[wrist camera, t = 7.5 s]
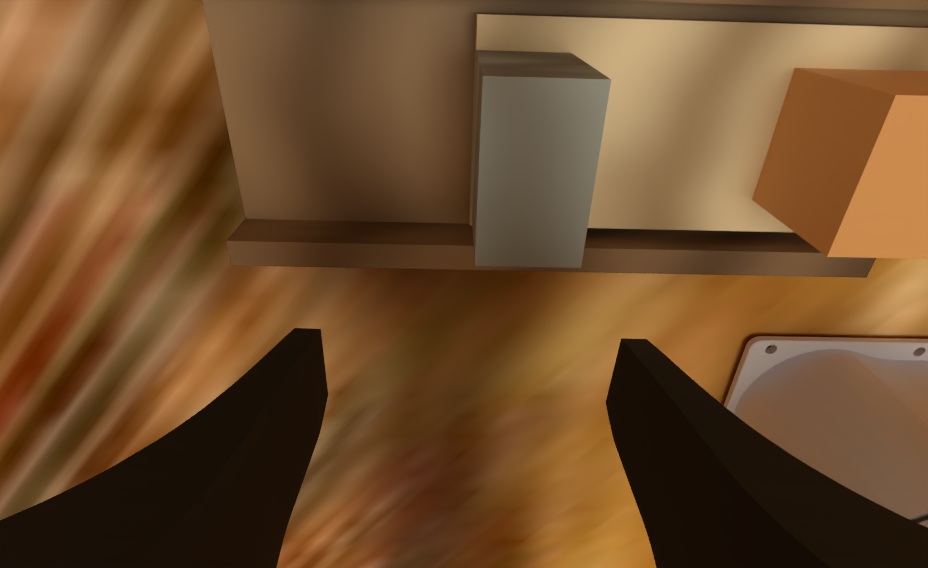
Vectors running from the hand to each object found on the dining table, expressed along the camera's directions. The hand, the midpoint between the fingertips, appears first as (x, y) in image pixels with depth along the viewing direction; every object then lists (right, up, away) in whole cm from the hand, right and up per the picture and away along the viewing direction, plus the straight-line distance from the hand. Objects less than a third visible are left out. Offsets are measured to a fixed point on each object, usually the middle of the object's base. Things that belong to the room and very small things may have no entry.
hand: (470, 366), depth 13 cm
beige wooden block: (+8, +8, +7) cm, 13 cm away
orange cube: (+13, +7, +5) cm, 15 cm away
